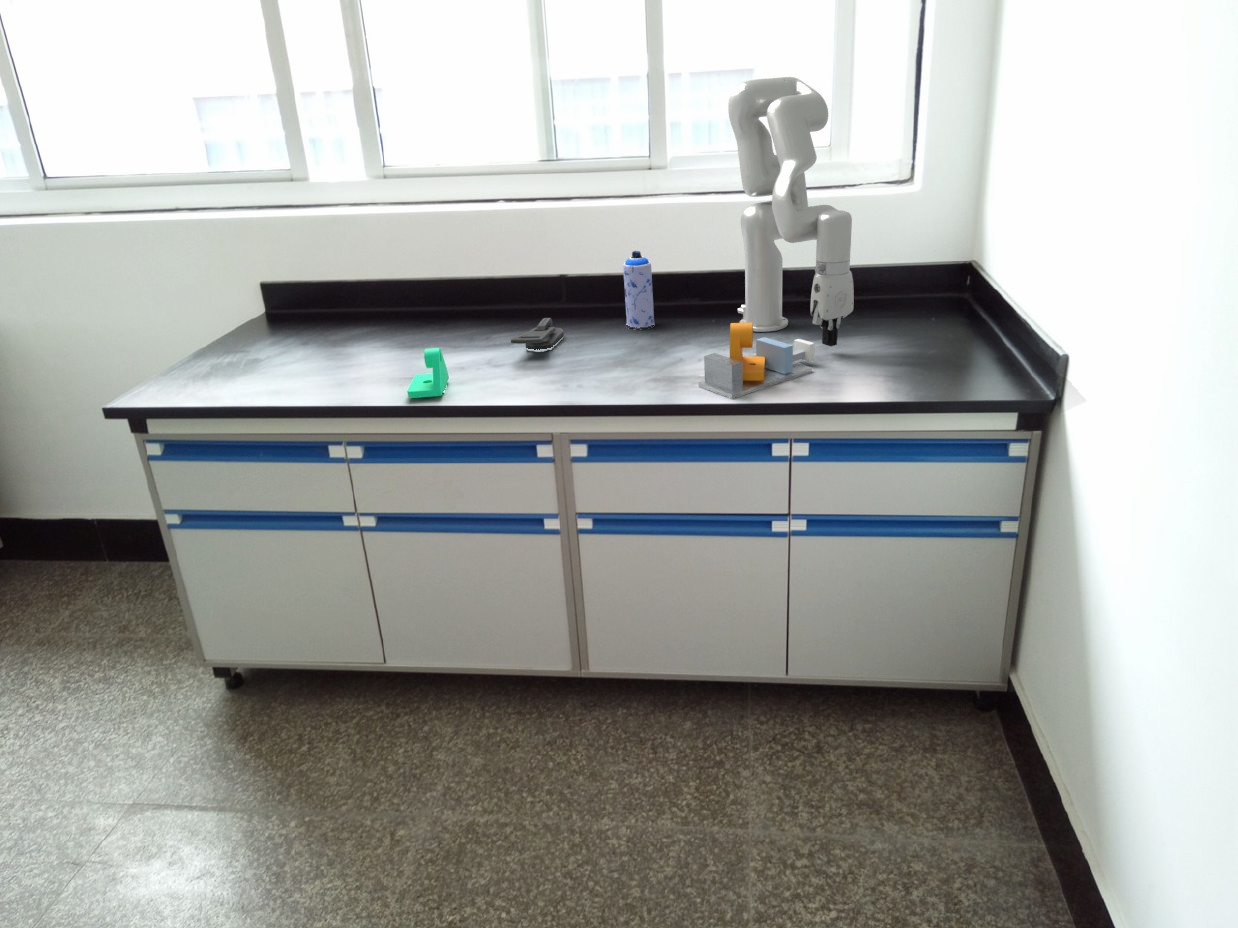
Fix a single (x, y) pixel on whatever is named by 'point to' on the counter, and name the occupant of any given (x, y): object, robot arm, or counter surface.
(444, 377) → the camera mount
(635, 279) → the aerosol can
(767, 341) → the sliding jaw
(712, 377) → the vise
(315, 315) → the counter surface
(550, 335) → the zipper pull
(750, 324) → the bracket
